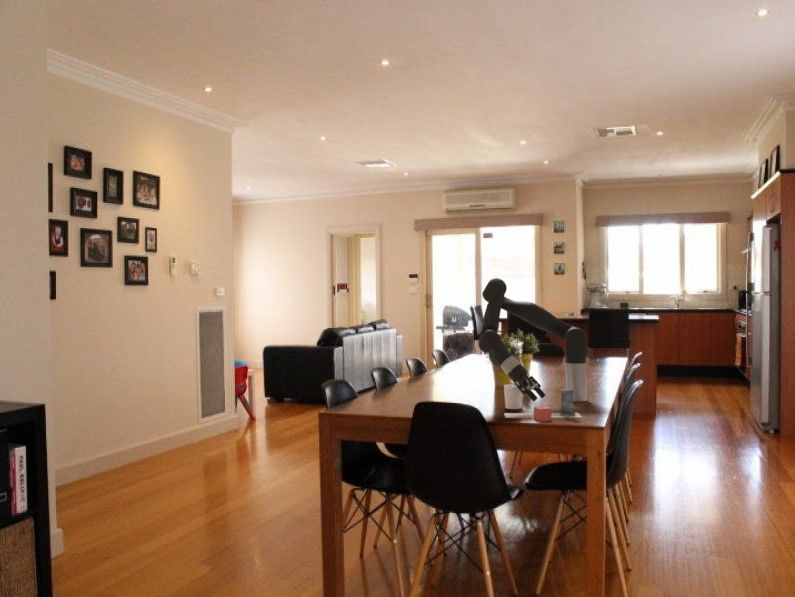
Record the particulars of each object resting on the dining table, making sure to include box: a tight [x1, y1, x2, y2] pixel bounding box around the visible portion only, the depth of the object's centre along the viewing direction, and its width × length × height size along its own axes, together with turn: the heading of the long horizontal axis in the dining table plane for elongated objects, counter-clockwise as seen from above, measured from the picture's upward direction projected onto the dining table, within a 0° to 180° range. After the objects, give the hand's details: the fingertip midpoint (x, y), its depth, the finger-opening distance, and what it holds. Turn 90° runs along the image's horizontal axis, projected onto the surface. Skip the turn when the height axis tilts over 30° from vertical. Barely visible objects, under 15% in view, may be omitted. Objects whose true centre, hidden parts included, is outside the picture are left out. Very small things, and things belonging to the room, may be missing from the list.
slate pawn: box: [559, 388, 576, 416], centre depth 272 cm, size 6×6×10 cm
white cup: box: [503, 383, 523, 410], centre depth 292 cm, size 8×8×10 cm
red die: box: [533, 405, 552, 422], centre depth 264 cm, size 5×5×6 cm
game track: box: [503, 412, 583, 419], centre depth 273 cm, size 10×30×1 cm, turn 85°
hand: (540, 398), depth 279 cm, fingers open, 8 cm apart
